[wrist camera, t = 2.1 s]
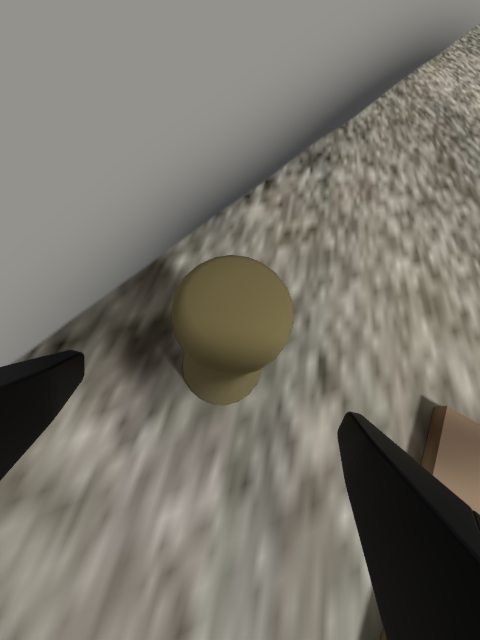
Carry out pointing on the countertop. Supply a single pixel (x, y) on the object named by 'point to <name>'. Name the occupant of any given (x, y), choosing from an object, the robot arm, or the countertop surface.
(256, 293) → the cork
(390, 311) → the countertop surface
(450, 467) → the walnut board
